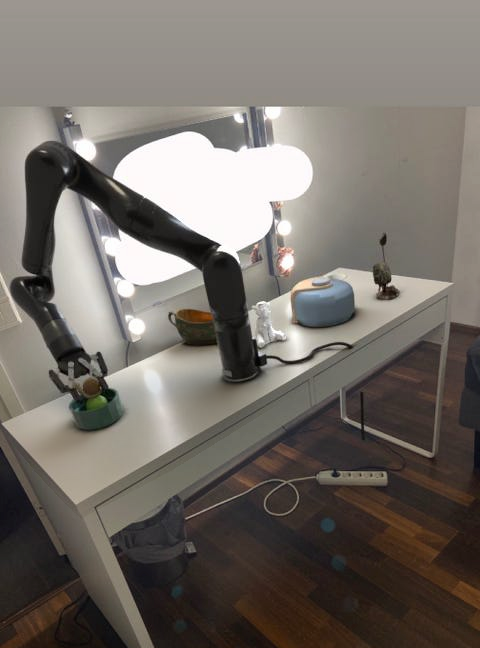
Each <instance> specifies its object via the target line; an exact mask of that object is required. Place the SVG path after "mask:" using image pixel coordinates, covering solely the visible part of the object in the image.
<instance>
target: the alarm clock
mask: <svg viewBox="0 0 480 648" xmlns="http://www.w3.org/2000/svg"><path fill="white" fill-rule="evenodd" d="M289 299H290V307H291V315H292V323H293V324H300V325H302V326H305V327H309V328H311V327H312V328H324V327H331V326H336V325H339V324H343V323H345V322H347V321H348V320H350V319H351V317H352V316H353V313H354V312H355V311H356V303H355V292H354V288H353V286H352V285H351V284H350V283H349V282H348V281H346V280H342V279H338V278H329V277H326V276H324V275H320V276H315V277H310V278H307V279H303V280H301V281H299V282H298V283H297V284H296V285H295V286H294V287H293V288H292V289H291V291H290V297H289Z"/></svg>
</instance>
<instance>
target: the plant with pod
mask: <svg viewBox="0 0 480 648" xmlns="http://www.w3.org/2000/svg"><path fill="white" fill-rule="evenodd" d="M387 237H388V236H387V233H386V232H382V233H381V235H380V236H379V239H378V241H379V245H380V246H381V248H382V256H383V257H382V258H383V260H382V261H377V262H376V263H375V264H374V263H371V264H374V265H373V266H372V277H373V282H374V284H375V285H378V290H377V291H378V292H377V293H375V294H376V296H375V297H376V298H377V299H380V300H391V299H393V298H395V297H397V296H398V295H399V292H400V289H398V288H397V287H396V286H395V285H394V284H391V285H389V284H390V283H391V282H392V279H393V278H392V272H391V269H390V265H389V263H387V261H386V260H385V251H384V249H385V248H384V246H385V245H386V244H387Z"/></svg>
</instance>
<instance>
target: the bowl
mask: <svg viewBox="0 0 480 648" xmlns="http://www.w3.org/2000/svg"><path fill="white" fill-rule="evenodd" d="M100 389H102V388H101V387H100ZM79 395H80V394H79ZM80 396H81V395H80ZM100 396H103V397H104V398H106V400H107V401H108V403H107V404H106V405H104V406H102V407H99V408H97V409H93V410H89V411H87V407H86V404H87V401H88V400H89V399H87V398H84V397H83V396H81V398H82V400H83V403H82V404H79V403H76V402H75V400H74V399H73V398H72V400H71V401H70V402H69V404H68V410H69V412H70V415H71V418H72V419H73V422H74V425H75V426H76V427H77V428H78V429H82V430H84V431H85V430H86V431H95V430H100V429H103V428H106V427H108V426H111V425H112V424H114V423H116V422H118V420H119V419H120V418H121V417H122V415H123V414H124V407H123V404H122V400H121V396H120V394H119V391H118V390H117V389H115V388H111V387H109V388H108V393H106V394H104V392H103V390H102V392H101V394H100Z"/></svg>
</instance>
